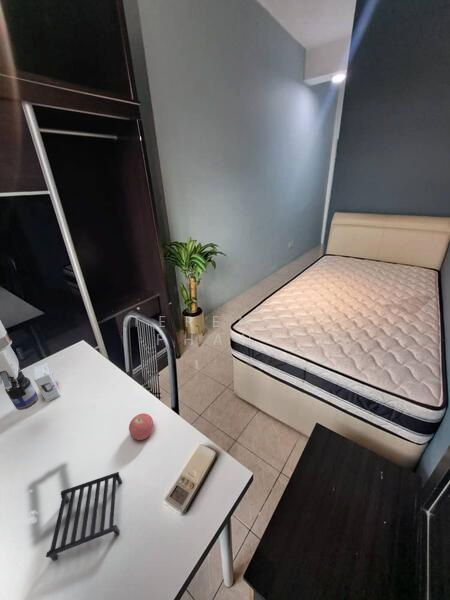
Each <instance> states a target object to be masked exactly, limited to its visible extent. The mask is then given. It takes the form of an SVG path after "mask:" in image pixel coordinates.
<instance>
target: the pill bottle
mask: <svg viewBox="0 0 450 600" xmlns="http://www.w3.org/2000/svg"><path fill="white" fill-rule="evenodd" d="M24 376H25V375H24V373H23V371H22V372H20V371H19V372H18V377H17V380H18V382H19V385H20V384H21V385H22V387H23V389H24V390H25V392H26V395H24V396H22V397H19V398H17V399H12V397H11V395H10V394H9V392H8V391H7V389H5V388H4V391H5V393H6V394H7V396H8V398H9V400H10V402H11V403H12V404H13V406H14V408H15V409H16V410H18V411H24V410H27V409H29V408H31V407H33V406H34V405H35V404H36V403H37V402H38V401H39V395H38V392H37V391H36V389H35V387H34V385H33V384H32V383H33V382H31V380H30V379H29V378H28V377H26V376H25V377H24ZM10 378H13V377H9V379H10ZM10 382H11V383H12V384H13V383H15V382H14V380H12V381H10Z"/></svg>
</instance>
